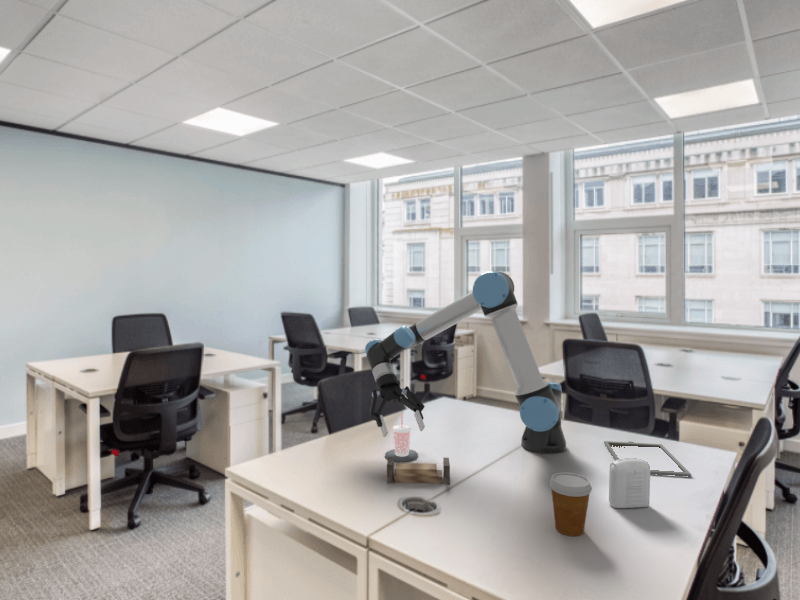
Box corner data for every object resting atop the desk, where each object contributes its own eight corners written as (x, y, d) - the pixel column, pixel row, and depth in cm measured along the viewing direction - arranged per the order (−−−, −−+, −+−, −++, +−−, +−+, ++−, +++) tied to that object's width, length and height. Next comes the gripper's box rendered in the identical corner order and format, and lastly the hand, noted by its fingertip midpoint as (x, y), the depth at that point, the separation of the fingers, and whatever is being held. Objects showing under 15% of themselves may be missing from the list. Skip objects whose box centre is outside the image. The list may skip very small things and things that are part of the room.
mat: (424, 454, 166) (424, 453, 166) (404, 464, 157) (404, 462, 157) (398, 448, 172) (398, 446, 172) (378, 457, 164) (378, 455, 164)
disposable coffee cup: (542, 520, 121) (543, 472, 120) (580, 518, 121) (580, 471, 121) (558, 541, 111) (558, 488, 111) (598, 539, 112) (599, 487, 111)
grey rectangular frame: (622, 469, 150) (602, 438, 180) (622, 474, 150) (602, 442, 180) (691, 474, 147) (659, 441, 176) (691, 479, 147) (659, 446, 176)
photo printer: (642, 500, 132) (642, 454, 131) (652, 507, 127) (653, 460, 127) (606, 502, 130) (606, 456, 130) (615, 510, 126) (616, 462, 125)
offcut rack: (448, 475, 148) (448, 457, 148) (449, 484, 142) (449, 465, 142) (388, 474, 149) (388, 456, 149) (386, 483, 143) (386, 464, 143)
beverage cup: (393, 450, 168) (393, 410, 167) (411, 451, 168) (411, 410, 167) (392, 457, 162) (392, 415, 161) (410, 457, 162) (410, 415, 161)
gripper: (413, 381, 183) (433, 432, 170) (350, 387, 172) (366, 443, 159) (420, 369, 178) (441, 421, 165) (355, 375, 167) (372, 431, 154)
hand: (404, 432), depth 162 cm, fingers open, 13 cm apart
